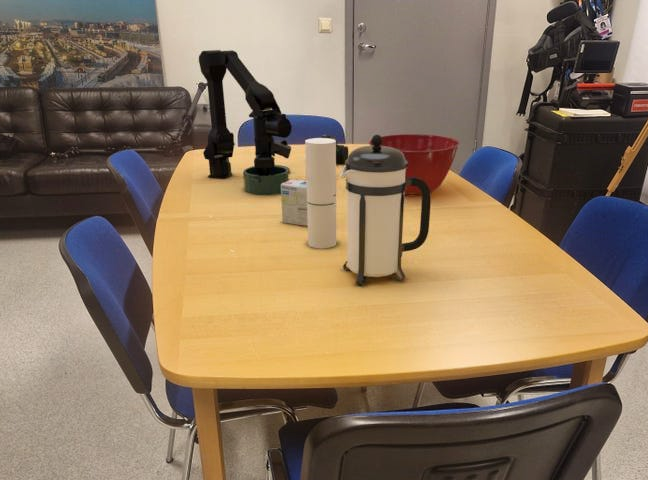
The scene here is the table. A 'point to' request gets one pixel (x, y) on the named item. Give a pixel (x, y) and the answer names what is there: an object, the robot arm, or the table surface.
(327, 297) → the table surface
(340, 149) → the film camera
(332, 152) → the cylindrical container
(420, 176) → the mixing bowl
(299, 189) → the light bulb box
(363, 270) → the coffee press
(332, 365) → the table surface
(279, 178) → the pot
